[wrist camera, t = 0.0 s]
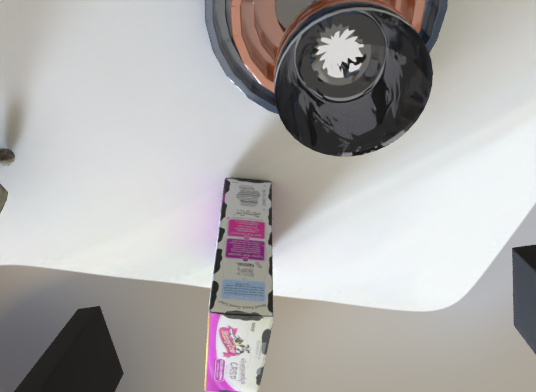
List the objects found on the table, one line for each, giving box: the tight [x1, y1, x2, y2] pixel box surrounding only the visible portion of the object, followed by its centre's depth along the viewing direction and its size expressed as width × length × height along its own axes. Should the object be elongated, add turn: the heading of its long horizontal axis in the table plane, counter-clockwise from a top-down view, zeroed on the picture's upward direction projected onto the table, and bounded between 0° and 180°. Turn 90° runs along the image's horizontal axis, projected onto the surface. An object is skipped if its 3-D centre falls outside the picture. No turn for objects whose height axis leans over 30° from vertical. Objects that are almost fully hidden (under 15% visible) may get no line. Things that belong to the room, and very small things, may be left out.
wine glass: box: [274, 0, 433, 156], centre depth 29 cm, size 8×8×15 cm
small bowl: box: [230, 0, 425, 93], centre depth 34 cm, size 13×13×4 cm
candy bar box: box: [204, 178, 273, 392], centre depth 43 cm, size 11×5×16 cm, turn 174°
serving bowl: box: [205, 0, 448, 114], centre depth 34 cm, size 17×17×3 cm
